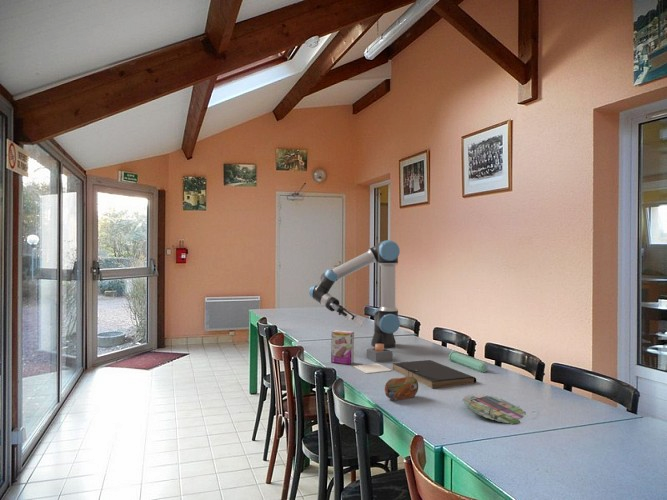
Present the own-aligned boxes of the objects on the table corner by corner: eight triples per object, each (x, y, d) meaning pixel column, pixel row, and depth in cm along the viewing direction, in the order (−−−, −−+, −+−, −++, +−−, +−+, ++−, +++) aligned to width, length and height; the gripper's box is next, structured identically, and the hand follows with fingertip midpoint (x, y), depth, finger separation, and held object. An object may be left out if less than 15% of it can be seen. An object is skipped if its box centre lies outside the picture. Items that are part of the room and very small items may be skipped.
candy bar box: (330, 363, 238) (331, 331, 238) (333, 360, 243) (334, 329, 243) (351, 365, 235) (351, 333, 235) (354, 362, 239) (354, 331, 239)
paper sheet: (377, 364, 237) (377, 363, 237) (391, 370, 224) (391, 370, 224) (353, 366, 232) (353, 365, 232) (366, 373, 219) (366, 372, 219)
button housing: (382, 356, 254) (382, 347, 254) (392, 360, 245) (392, 351, 245) (366, 357, 250) (366, 348, 250) (375, 362, 241) (375, 352, 241)
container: (487, 360, 224) (455, 348, 247) (478, 365, 222) (447, 353, 245) (491, 371, 225) (458, 358, 248) (482, 376, 222) (450, 363, 246)
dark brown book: (392, 362, 226) (432, 359, 236) (392, 370, 226) (432, 367, 236) (431, 380, 196) (476, 375, 205) (431, 390, 196) (476, 384, 205)
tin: (387, 402, 178) (388, 380, 178) (383, 399, 181) (383, 378, 181) (418, 396, 185) (419, 376, 185) (414, 394, 188) (414, 374, 188)
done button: (381, 352, 251) (381, 343, 251) (385, 354, 247) (385, 344, 247) (373, 353, 249) (373, 343, 249) (377, 354, 245) (377, 345, 245)
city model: (521, 437, 151) (524, 419, 151) (452, 415, 164) (454, 398, 163) (533, 416, 172) (535, 400, 172) (471, 397, 185) (473, 382, 184)
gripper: (337, 313, 271) (363, 332, 258) (315, 302, 251) (342, 322, 238) (344, 302, 271) (370, 320, 259) (322, 290, 251) (350, 310, 239)
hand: (357, 321), depth 248 cm, fingers open, 13 cm apart
